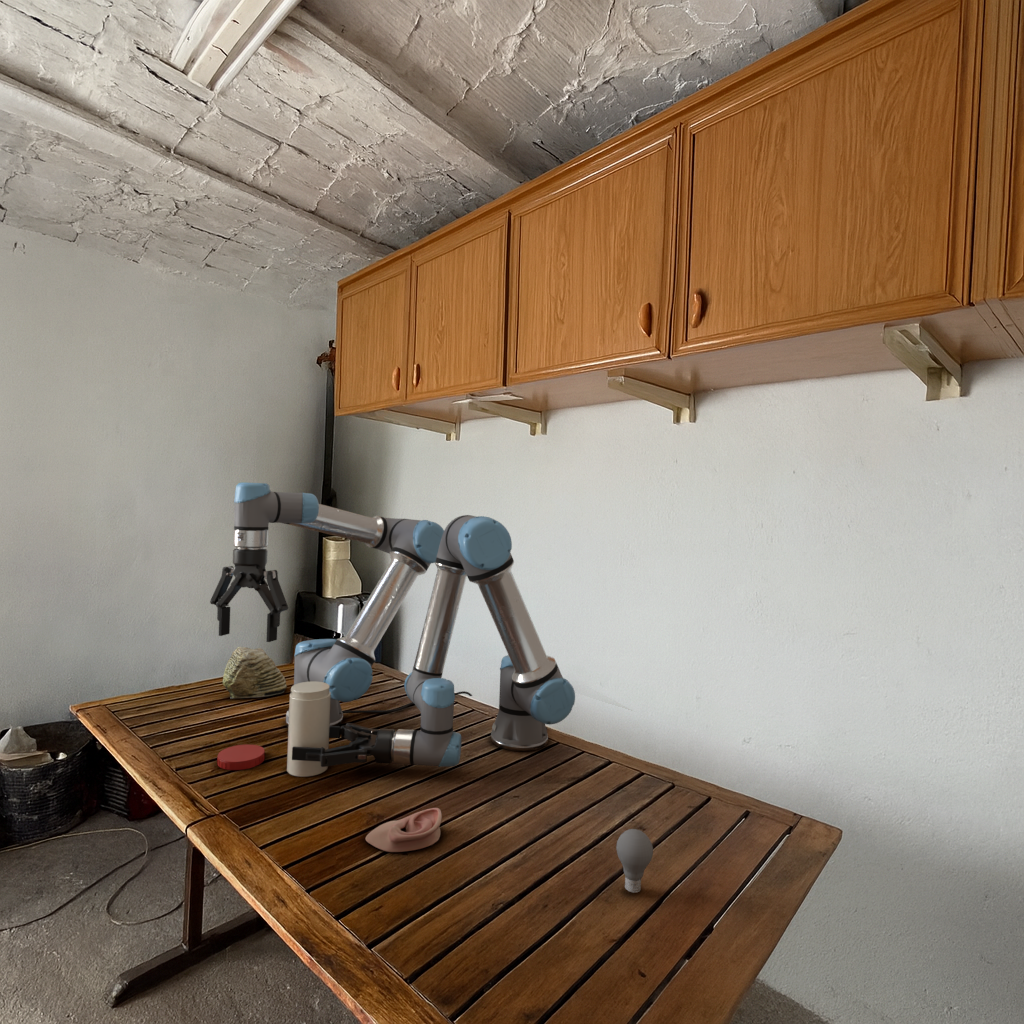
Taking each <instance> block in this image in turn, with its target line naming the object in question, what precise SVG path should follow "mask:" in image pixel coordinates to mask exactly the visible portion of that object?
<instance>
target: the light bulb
mask: <svg viewBox="0 0 1024 1024" xmlns="http://www.w3.org/2000/svg"><path fill="white" fill-rule="evenodd" d="M615 849H616V854H617V857H618V859H619V861H620V863H621V865H622V867H623V873H624V874H623V875H624V876H625V878H624V888H625V890H627V891H628V892H630V893H634V894H635V893H639V892H640V891H641V889H642V887H641V886H642V879H643V877H644V875H645V871H646V868H647V867H648V866H649V864H650V863H651V861H652V859H653V855H654V847H653V843H652V841H651V838H649V836H648V835H647V834H646V833H645V832H643V831H642V830H641V829H636V828H629V829H627V830H625V831H623V832H622V833H621V834H620V835H619V837H618V839H617V841H616V847H615Z"/></svg>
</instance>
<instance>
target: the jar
mask: <svg viewBox="0 0 1024 1024" xmlns="http://www.w3.org/2000/svg"><path fill="white" fill-rule="evenodd" d="M329 690H330V686H329V684H327V683H324V682H316V681H312V682H302V683H298V684H295V685H294V684H293V685H292V686H291V688H290V693H289V698H288V699H289V700H288V710H289V724H288V727H287V752H286V753H287V755H286V772H287V773H288V774H289V775H290V776H294V777H301V778H302V777H303V778H306V777H314V776H317V775H320V774H322V773H324V772H326V771H327V770H328V768H329V766H326V767H321V762H320V761H302V760H292V748H293V747H312V748H321V747H323V748H324V749H325V750H326V749H330V748H329V747H330V738H329V728H330V702H331V692H330V691H329Z"/></svg>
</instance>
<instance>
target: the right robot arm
mask: <svg viewBox="0 0 1024 1024" xmlns="http://www.w3.org/2000/svg"><path fill="white" fill-rule="evenodd" d="M512 548H513V542H512V537H511V534H510V532H509V531H508V529H507V527H506V526H505V525H504V524H502V523H501V522H500V521H498V520H497V519H494V518H492V517H490V516H484V515H481V516H480V515H479V516H476V515H470V514H464V515H460V516H457V517H455V518H454V519H451V521H450V522H449V523H447V525H446V527H445V528H444V532H443V535H442V538H441V541H440V545H439V549H438V553H437V557H436V561H435V563H434V564H435V566H436V569H437V571H436V575H435V578H434V583H433V586H432V591H431V595H430V599H429V603H428V607H427V610H426V611H427V612H426V615H425V619H424V623H423V627H422V631H421V635H420V638H419V640H420V641H419V643H418V647H417V650H416V651H417V652H416V654H415V658H414V659H415V660H414V663H413V666H412V671H410V673H409V674H408V675H407V676H406V677H405V680H404V683H403V687H404V691H405V694H406V696H407V698H408V699H409V701H410V702H413V703H414V704H413V705H415V707H416V708H417V709H418V710H419V712H420V725H419V730H417V729H416V730H415V729H402V728H398V729H397V730H395V729H394V728H380V729H377V728H371V727H367V726H363V725H360V724H356V723H351V722H347V723H345V724H344V725H341V726H340V725H339V726H330V728H329V739H340V740H344V739H345V740H347V741H349V743H348V744H345V745H340V746H336V747H332V748H329V749H326V750H325V749H324V748H323V747H321V748H312V747H293V748H292V760H302V761H320V762H321V767H326V766H328V767H332V766H341V765H346V764H355V763H358V764H359V763H361V764H362V763H364V764H365V763H367V761H368V757H371V756H372V757H373V758H374V761H375V762H376V763H377V764H387V765H389V764H392V763H393V764H395V765H403V766H404V767H407V766H409V765H411V766H426V767H427V766H428V767H438V768H449V767H457V765H459V764H460V760H461V754H462V734H461V733H460V732H456V731H454V713H455V712H454V710H455V700H456V695H454V693H455V684H454V682H453V681H452V680H450V679H447V678H444V677H443V674H444V673H443V672H444V669H445V666H446V665H445V664H446V660H447V655H448V652H449V649H450V646H451V645H450V644H451V641H452V636H453V634H454V633H453V632H454V630H455V629H454V628H455V624H456V620H457V618H458V617H457V616H458V613H459V609H460V605H461V600H462V598H463V597H462V596H463V593H464V589H465V585H466V581H467V579H468V581H469V582H470V583H473V584H475V585H477V586H478V588H479V591H480V593H481V595H482V597H483V600H484V602H485V604H486V607H487V609H488V611H489V614H490V616H491V618H492V621H493V623H494V626H495V628H496V630H497V632H498V635H499V637H500V639H501V641H502V644H503V646H504V648H505V651H506V653H507V655H504V656H503V657H502V658H501V662H500V667H499V672H500V673H499V696H498V697H499V698H498V712H497V715H496V718H495V720H494V722H493V723H492V726H491V728H492V729H491V731H490V741H491V743H492V744H493V745H495V746H496V747H499V748H501V749H503V750H507V751H512V752H513V751H514V752H530V751H531V752H532V751H537V750H541V749H543V748H544V747H546V746H547V744H548V741H549V735H548V727H547V726H546V725H556V724H558V723H561V722H563V720H565V719H566V718H567V717H568V716H569V715H570V713H571V712H572V711H573V707H574V706H575V703H576V692H575V688H574V687H573V685H572V684H571V683H570V681H569V679H567V678H564V677H563V674H562V673H561V670H560V668H559V666H558V665H559V664H558V663H557V661H556V659H555V658H554V657H553V656H551V655H549V654H547V653H546V650H545V648H544V645H543V643H542V641H541V639H540V636H539V634H538V631H537V629H536V627H535V624H534V621H533V620H532V616H531V615H530V612H529V610H528V607H527V605H526V602H525V600H524V598H523V595H522V593H521V591H520V588H519V585H518V584H517V581H516V579H515V577H514V573H513V572H512V568H513V567H514V563H515V561H514V558H513V555H512V553H511V551H512Z"/></svg>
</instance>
